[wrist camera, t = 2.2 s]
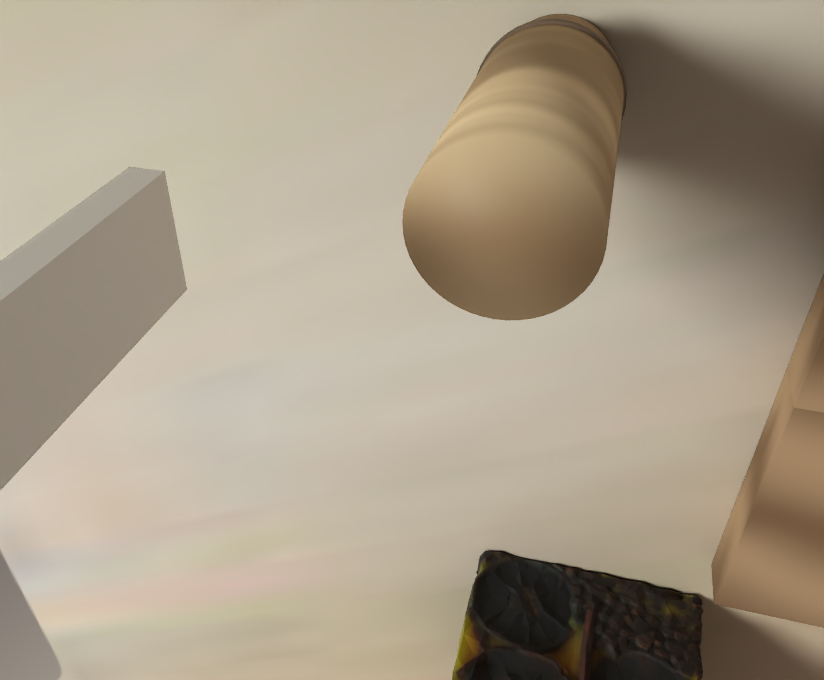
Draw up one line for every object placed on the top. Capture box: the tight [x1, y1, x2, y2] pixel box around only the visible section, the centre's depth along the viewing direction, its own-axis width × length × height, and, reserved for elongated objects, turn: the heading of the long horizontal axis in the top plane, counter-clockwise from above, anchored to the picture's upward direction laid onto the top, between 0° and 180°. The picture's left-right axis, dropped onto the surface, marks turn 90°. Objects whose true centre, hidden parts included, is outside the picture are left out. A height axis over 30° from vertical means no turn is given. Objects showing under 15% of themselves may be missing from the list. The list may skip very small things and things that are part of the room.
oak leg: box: [403, 14, 627, 320], centre depth 19 cm, size 4×4×10 cm
